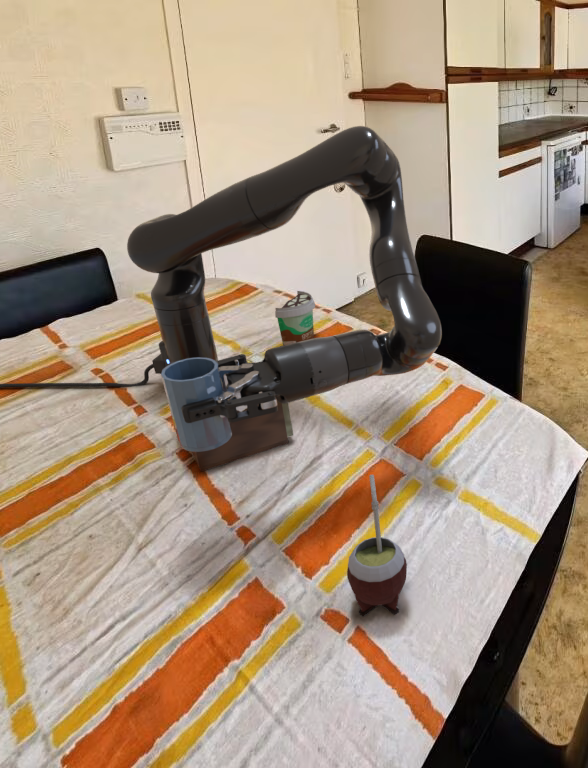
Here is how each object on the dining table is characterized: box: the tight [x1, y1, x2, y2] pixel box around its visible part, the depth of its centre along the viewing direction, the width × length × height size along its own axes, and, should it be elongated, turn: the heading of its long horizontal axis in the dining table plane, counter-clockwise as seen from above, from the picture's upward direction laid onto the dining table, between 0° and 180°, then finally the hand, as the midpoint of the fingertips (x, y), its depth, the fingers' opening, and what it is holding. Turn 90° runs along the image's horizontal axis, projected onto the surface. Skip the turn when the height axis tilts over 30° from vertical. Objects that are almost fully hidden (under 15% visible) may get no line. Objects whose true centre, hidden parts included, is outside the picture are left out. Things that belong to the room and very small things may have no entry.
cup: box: [160, 357, 232, 452], centre depth 78 cm, size 6×6×10 cm
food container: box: [274, 290, 316, 346], centre depth 143 cm, size 12×6×10 cm, turn 168°
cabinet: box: [190, 400, 289, 472], centre depth 106 cm, size 15×13×10 cm
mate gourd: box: [346, 474, 408, 618], centre depth 74 cm, size 8×8×15 cm
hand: (177, 402), depth 76 cm, fingers closed on cup, 6 cm apart
